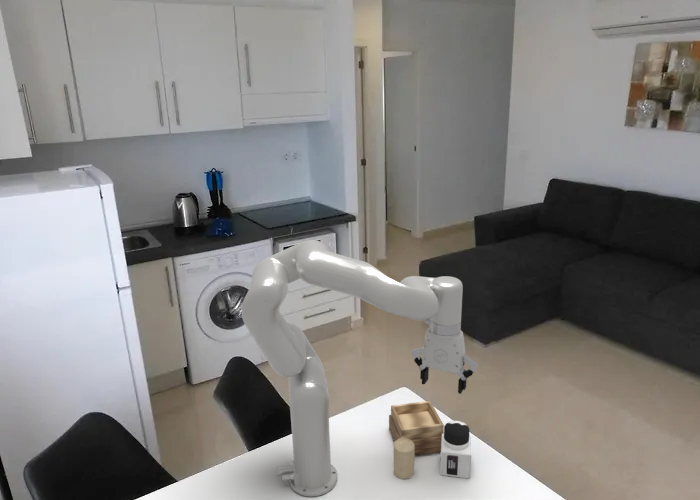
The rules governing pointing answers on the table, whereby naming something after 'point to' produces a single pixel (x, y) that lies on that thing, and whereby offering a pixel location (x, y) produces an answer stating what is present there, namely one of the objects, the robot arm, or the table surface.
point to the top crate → (417, 420)
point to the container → (456, 450)
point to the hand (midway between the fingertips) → (442, 386)
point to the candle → (403, 458)
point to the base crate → (418, 441)
